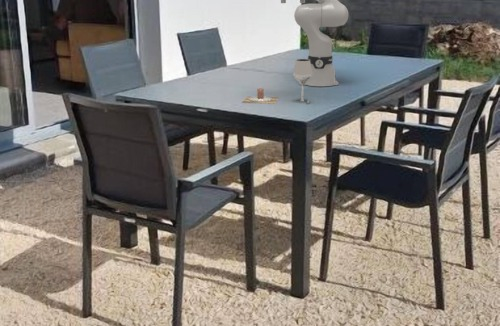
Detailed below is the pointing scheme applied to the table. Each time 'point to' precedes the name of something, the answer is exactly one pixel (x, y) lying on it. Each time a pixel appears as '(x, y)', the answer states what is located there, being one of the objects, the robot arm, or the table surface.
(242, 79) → the table surface
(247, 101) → the mat
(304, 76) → the wineglass
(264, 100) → the lid
